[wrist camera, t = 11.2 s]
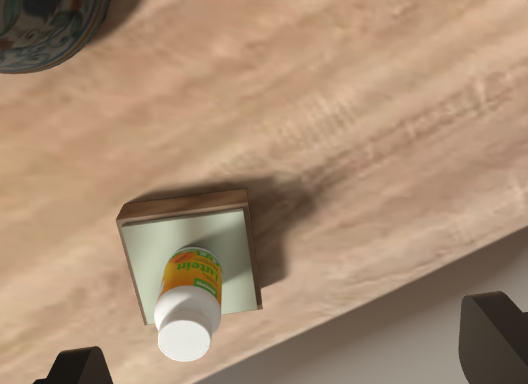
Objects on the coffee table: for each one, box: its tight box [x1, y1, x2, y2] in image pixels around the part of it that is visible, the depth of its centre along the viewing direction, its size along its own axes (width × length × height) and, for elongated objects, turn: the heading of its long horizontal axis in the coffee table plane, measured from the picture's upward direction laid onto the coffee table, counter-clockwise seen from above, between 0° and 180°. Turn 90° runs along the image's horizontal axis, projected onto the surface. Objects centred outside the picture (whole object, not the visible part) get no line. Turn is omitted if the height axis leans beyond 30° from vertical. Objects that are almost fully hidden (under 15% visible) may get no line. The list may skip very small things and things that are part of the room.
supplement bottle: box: [154, 247, 222, 362], centre depth 38 cm, size 5×5×10 cm
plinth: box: [116, 188, 263, 325], centre depth 44 cm, size 12×12×4 cm
